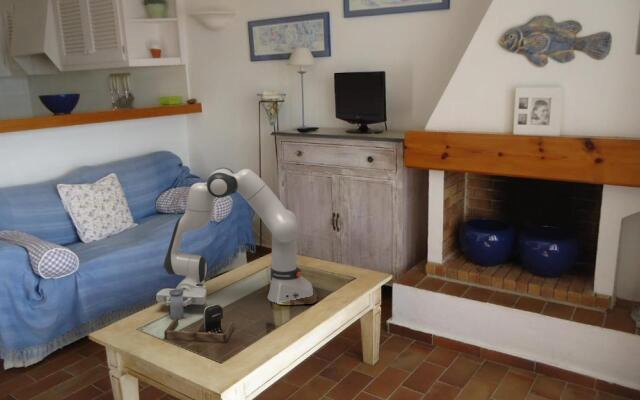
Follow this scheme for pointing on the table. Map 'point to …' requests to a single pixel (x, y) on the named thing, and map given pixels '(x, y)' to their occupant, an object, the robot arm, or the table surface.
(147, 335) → the table surface
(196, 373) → the table surface
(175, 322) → the dock
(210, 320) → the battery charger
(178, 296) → the canister
